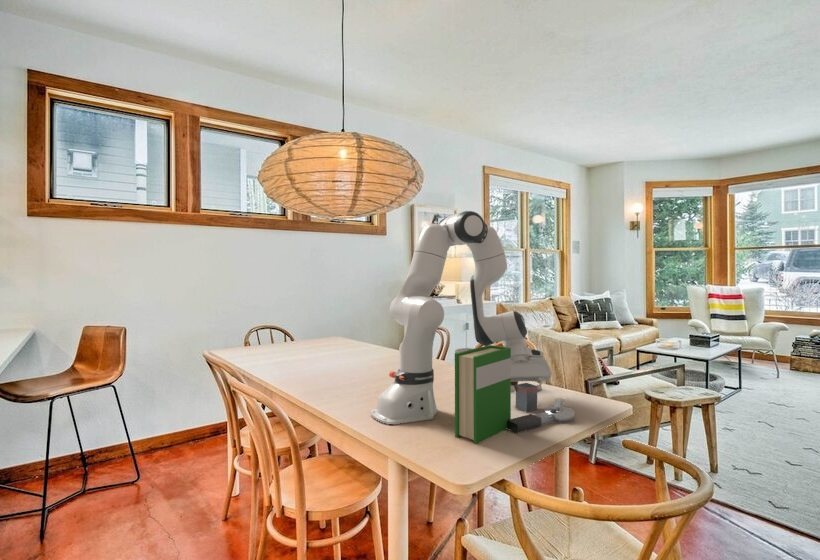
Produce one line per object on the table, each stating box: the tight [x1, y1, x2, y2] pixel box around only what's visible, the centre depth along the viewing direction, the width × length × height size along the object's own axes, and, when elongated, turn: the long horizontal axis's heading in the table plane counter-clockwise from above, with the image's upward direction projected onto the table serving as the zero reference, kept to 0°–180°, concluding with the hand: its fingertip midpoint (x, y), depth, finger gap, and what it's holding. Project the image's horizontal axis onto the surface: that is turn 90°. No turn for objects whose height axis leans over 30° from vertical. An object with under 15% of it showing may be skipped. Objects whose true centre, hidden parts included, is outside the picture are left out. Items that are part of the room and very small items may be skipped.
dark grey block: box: [515, 382, 538, 413], centre depth 149 cm, size 5×5×8 cm
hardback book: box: [454, 344, 512, 445], centre depth 128 cm, size 18×7×24 cm, turn 136°
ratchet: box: [506, 397, 575, 434], centre depth 135 cm, size 25×9×6 cm, turn 121°
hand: (526, 391), depth 149 cm, fingers open, 8 cm apart
